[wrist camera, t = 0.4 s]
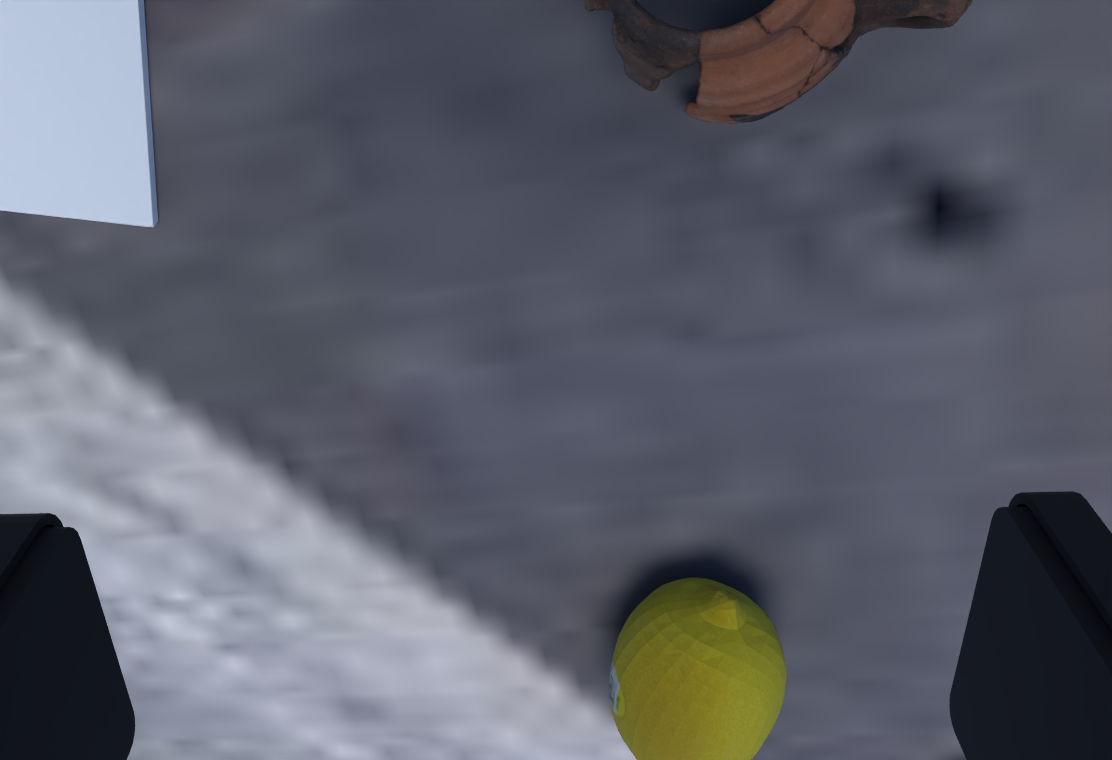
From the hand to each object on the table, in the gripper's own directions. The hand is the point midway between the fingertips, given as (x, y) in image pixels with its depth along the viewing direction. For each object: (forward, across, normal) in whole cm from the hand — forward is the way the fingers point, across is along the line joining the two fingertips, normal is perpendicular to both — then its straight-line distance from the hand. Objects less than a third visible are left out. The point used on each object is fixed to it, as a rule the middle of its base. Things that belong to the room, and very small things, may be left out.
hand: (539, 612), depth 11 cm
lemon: (+30, -6, +28) cm, 42 cm away
